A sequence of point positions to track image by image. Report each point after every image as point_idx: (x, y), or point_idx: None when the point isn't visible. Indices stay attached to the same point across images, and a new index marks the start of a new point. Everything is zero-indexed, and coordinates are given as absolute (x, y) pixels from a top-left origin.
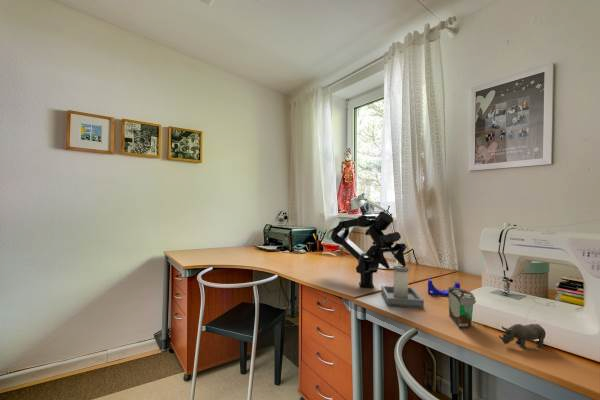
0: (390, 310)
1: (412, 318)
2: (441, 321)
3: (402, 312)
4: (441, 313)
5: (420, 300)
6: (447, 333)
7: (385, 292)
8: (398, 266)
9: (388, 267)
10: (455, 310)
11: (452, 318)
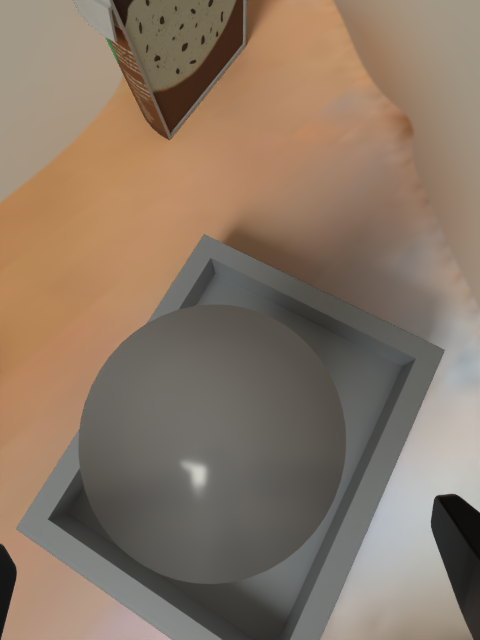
0: (443, 297)
1: (382, 173)
2: (259, 111)
3: (384, 250)
4: (172, 178)
5: (222, 244)
6: (334, 28)
7: (379, 486)
8: (184, 531)
9: (460, 504)
10: (210, 14)
11: (194, 98)
